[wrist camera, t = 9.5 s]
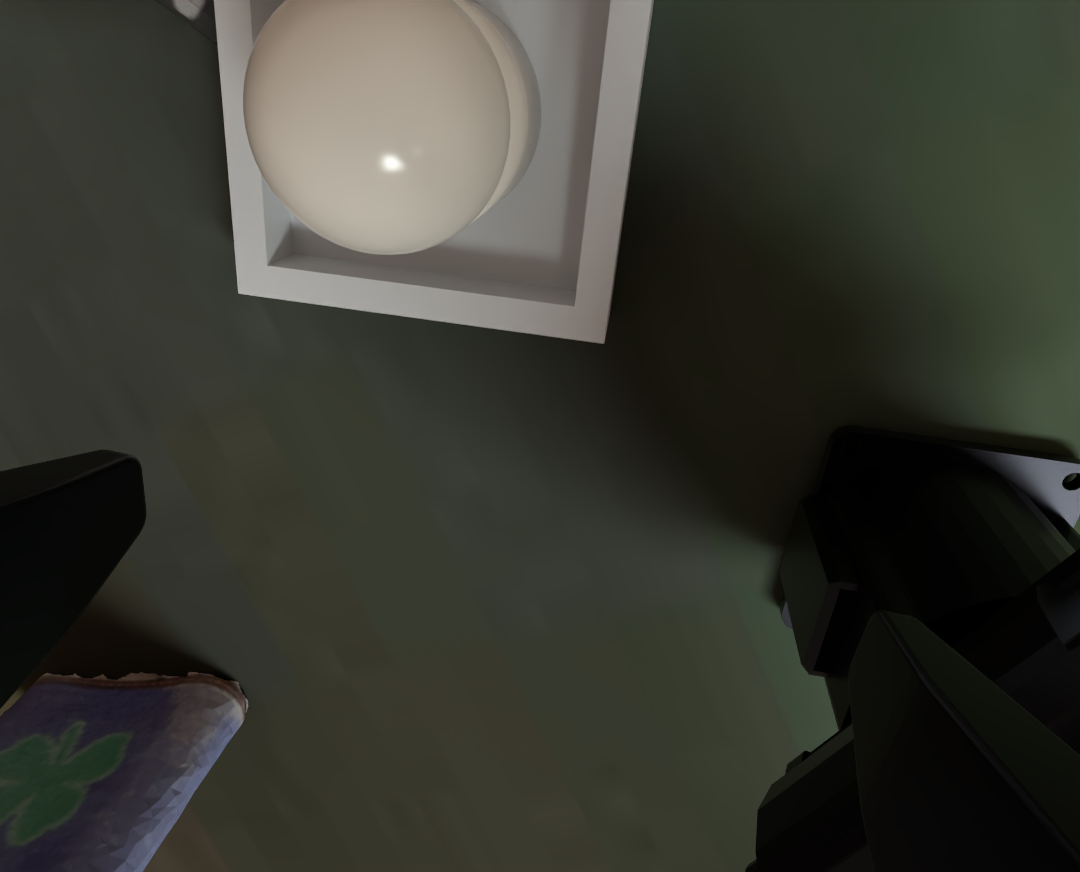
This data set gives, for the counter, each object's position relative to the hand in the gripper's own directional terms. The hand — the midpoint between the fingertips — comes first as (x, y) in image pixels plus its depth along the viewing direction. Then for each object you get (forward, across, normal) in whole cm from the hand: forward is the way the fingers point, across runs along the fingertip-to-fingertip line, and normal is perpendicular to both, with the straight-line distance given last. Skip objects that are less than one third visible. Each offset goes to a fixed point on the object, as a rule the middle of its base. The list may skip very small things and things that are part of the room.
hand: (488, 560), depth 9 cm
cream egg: (+11, +4, -4) cm, 12 cm away
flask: (+12, +14, +18) cm, 26 cm away
